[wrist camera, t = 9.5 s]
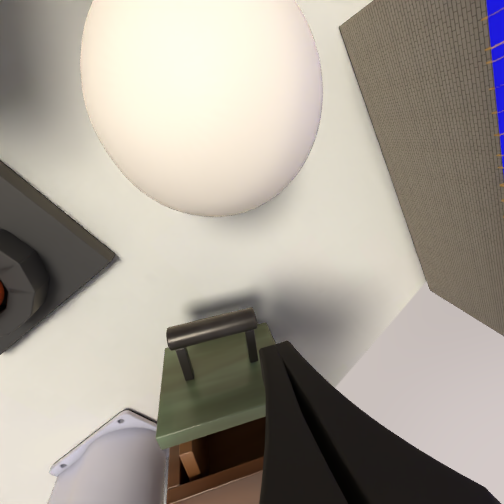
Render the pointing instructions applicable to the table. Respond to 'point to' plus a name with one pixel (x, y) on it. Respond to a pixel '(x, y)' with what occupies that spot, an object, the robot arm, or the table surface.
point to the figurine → (203, 97)
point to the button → (1, 293)
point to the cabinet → (214, 483)
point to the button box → (39, 257)
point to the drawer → (214, 392)
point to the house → (441, 135)
